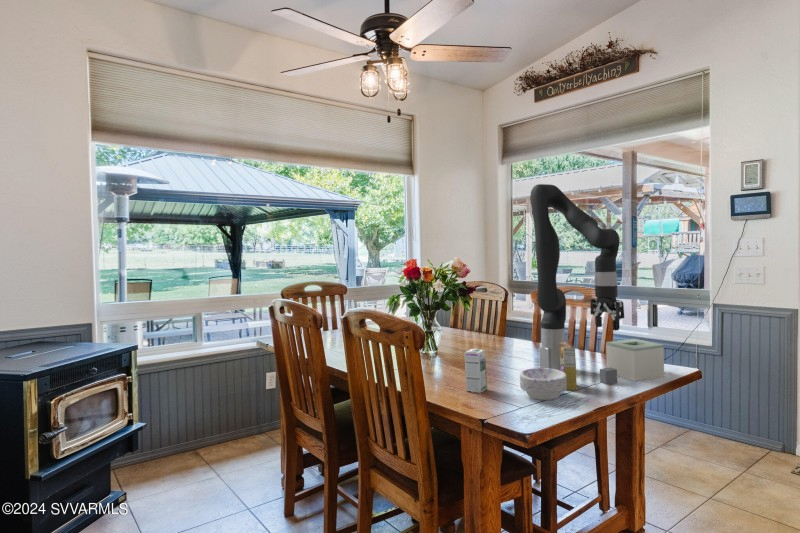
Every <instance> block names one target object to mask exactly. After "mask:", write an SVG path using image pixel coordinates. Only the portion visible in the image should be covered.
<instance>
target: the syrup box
mask: <svg viewBox="0 0 800 533" xmlns="http://www.w3.org/2000/svg"><path fill="white" fill-rule="evenodd" d="M486 360H487V359H486V350H485V349H481V348H470V349H468V350H467V351H465V352H464V366H465V369H464V370H465V371H464V372H465V384H466V385H465V388H466V392H468V391H471V392H470V393H474V392H478V393H477V394H482V393H483V392H484V391H485V390H486V391H487V389H488V384H487V383H488V382H487V364H486ZM481 392H482V393H481Z"/></svg>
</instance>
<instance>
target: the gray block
mask: <svg viewBox="0 0 800 533" xmlns="http://www.w3.org/2000/svg"><path fill="white" fill-rule="evenodd" d="M599 382H600V383H601V384H603V385H612V384H618V376H617V369H614V368H611V367H610V368H607V367H605V368H599Z"/></svg>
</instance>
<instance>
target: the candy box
mask: <svg viewBox="0 0 800 533" xmlns="http://www.w3.org/2000/svg"><path fill="white" fill-rule="evenodd" d="M559 349H560V368H561V371H562V372H564V373H565V374H566V380H567V389H566V390H565V391H577V390H578V389H577V388H578V385H577V365H576V347H574V345H573V344H572V343H571V342H567V341H565V343H559Z"/></svg>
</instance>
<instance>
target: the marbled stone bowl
mask: <svg viewBox="0 0 800 533" xmlns="http://www.w3.org/2000/svg"><path fill="white" fill-rule="evenodd" d="M519 388H520V389H521V390H522V391H525V393H526V394H527V396H529V397H530V398H532V399H533V400H538V401H551V400H552V401H553V400H555V399H558V398H559V397H560V396H561V394H562V393H563V392H565V391H567V390H566V389H567V380H566V374H565V373H564V372H562V371H560V370H556V369H550V368H540V367H533V368H527V369H523V370H522V371H521V372H519Z"/></svg>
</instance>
